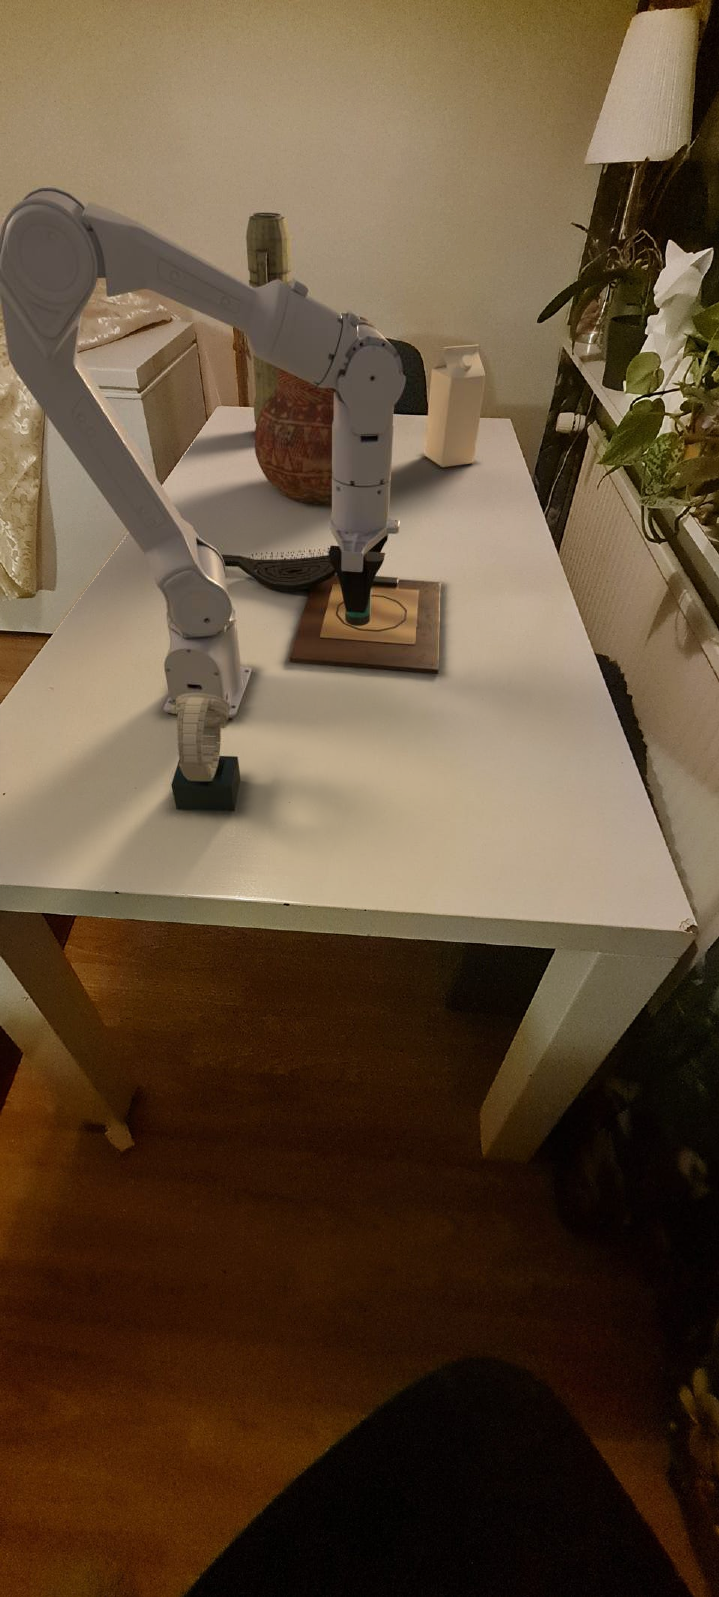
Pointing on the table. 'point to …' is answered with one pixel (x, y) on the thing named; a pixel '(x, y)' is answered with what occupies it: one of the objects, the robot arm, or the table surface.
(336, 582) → the clipboard
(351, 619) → the dot marker
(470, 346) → the milk carton
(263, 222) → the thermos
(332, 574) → the hairbrush
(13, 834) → the table surface
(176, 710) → the watch
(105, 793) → the table surface
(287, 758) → the table surface
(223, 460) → the table surface
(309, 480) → the jug
